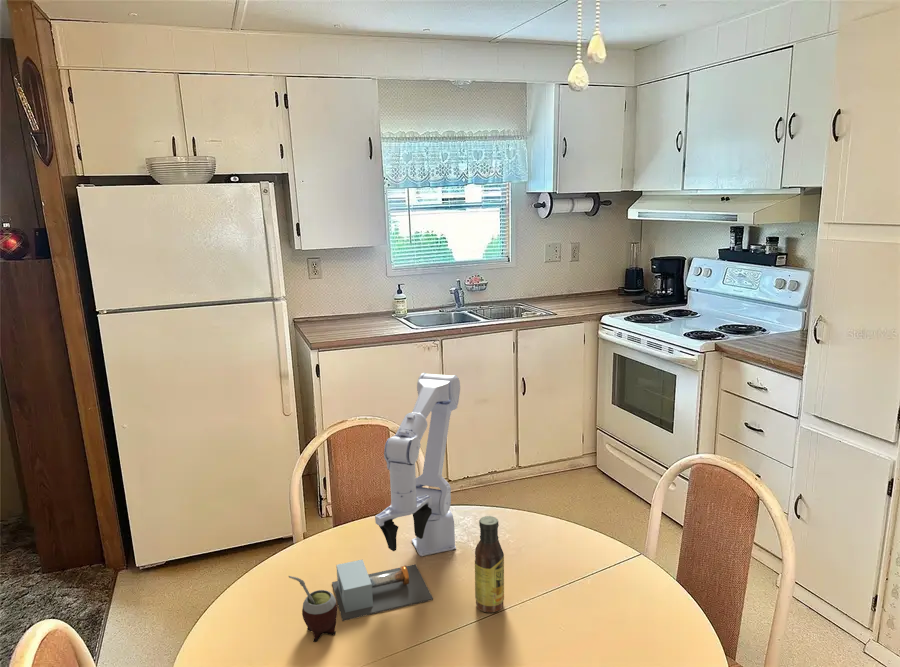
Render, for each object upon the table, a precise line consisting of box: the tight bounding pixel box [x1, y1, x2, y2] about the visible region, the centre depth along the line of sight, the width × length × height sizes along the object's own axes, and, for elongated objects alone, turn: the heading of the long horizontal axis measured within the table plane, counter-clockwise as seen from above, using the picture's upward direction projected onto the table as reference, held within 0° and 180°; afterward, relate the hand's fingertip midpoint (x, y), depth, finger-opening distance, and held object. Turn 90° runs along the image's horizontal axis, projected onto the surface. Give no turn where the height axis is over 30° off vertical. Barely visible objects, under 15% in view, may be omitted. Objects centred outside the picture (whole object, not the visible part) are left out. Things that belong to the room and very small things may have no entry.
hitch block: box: [335, 559, 373, 613], centre depth 140 cm, size 6×10×6 cm, turn 19°
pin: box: [369, 565, 409, 588], centre depth 142 cm, size 11×4×4 cm, turn 109°
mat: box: [331, 564, 434, 622], centre depth 143 cm, size 20×14×1 cm
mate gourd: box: [288, 575, 339, 643], centre depth 128 cm, size 8×8×15 cm
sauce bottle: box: [474, 515, 505, 614], centre depth 135 cm, size 6×6×20 cm
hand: (405, 542), depth 145 cm, fingers open, 7 cm apart
